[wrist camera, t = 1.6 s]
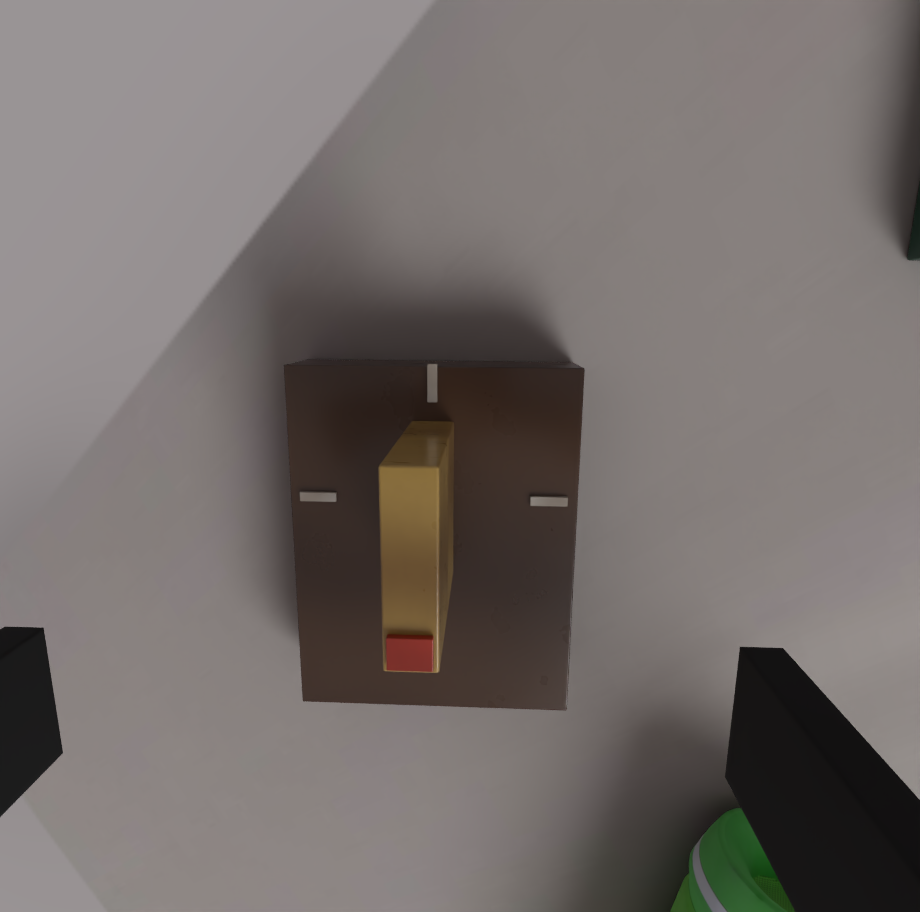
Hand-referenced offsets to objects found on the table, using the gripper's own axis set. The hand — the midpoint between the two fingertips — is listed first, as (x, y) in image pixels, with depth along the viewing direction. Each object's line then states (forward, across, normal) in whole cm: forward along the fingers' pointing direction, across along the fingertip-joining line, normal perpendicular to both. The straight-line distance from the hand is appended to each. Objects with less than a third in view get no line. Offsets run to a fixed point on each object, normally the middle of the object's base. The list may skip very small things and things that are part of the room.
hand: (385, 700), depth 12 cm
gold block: (+12, 0, 0) cm, 12 cm away
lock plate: (+15, 0, -2) cm, 15 cm away
